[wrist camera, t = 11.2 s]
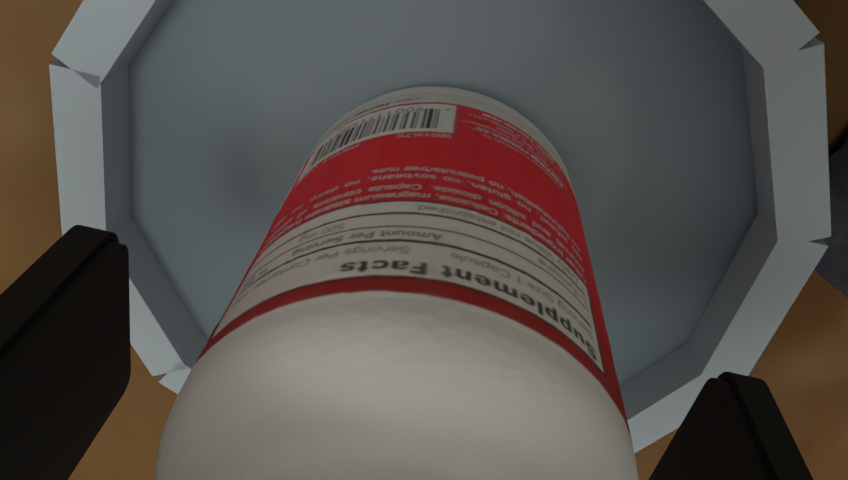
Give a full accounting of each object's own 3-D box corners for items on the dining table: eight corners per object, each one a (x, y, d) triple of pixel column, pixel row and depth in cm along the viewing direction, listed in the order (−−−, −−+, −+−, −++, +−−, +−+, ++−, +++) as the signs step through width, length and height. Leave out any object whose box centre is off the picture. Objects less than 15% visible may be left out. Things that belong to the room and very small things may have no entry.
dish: (945, -86, 13) (1031, -69, 11) (631, 475, 21) (646, 545, 19) (92, -302, 12) (13, -327, 10) (114, 362, 21) (72, 421, 19)
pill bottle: (471, 356, 18) (447, 963, 8) (258, 238, 16) (-58, 799, 7) (636, 177, 15) (885, 803, 5) (392, 15, 13) (153, 469, 4)
